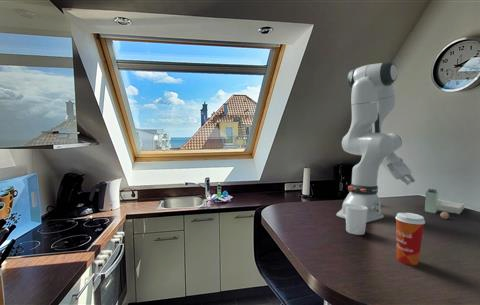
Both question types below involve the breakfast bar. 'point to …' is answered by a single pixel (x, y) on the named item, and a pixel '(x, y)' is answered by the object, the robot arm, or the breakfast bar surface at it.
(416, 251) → the paper cup
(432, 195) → the shaker
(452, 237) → the breakfast bar surface
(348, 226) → the white cup
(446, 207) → the dish
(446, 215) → the ball
